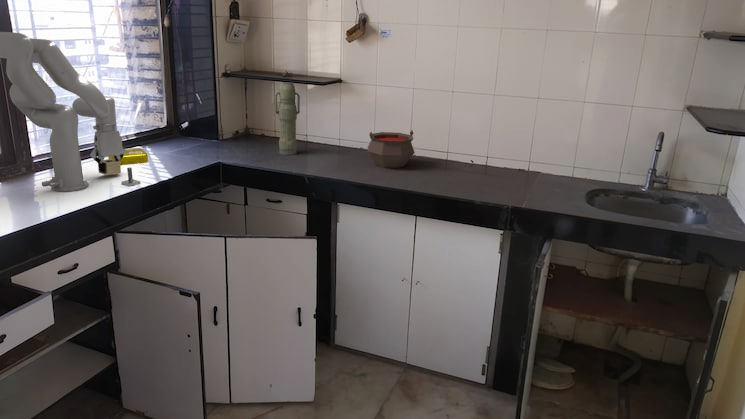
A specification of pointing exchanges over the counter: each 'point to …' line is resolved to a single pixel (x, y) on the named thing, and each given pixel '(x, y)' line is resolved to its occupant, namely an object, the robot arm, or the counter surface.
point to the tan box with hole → (111, 167)
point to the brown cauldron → (391, 149)
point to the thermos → (287, 118)
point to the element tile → (133, 156)
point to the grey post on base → (130, 179)
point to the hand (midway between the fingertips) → (109, 170)
